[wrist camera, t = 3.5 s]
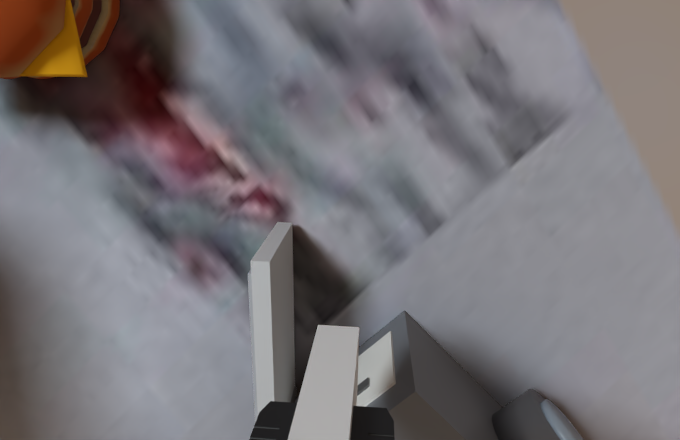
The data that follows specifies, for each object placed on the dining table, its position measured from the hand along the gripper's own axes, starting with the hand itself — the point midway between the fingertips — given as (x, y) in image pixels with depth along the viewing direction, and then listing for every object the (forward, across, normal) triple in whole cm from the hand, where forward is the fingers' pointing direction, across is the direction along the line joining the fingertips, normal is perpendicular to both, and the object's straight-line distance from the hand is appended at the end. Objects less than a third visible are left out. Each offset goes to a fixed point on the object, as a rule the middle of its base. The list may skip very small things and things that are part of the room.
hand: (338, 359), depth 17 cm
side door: (+8, -4, -3) cm, 10 cm away
